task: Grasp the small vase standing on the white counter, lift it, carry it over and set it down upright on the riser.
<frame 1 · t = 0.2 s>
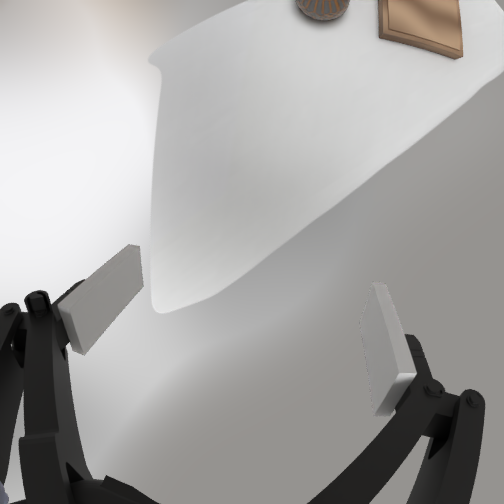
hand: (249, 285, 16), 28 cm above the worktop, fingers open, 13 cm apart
vase: (321, 5, 29), on the worktop
riser: (417, 13, 26), on the worktop
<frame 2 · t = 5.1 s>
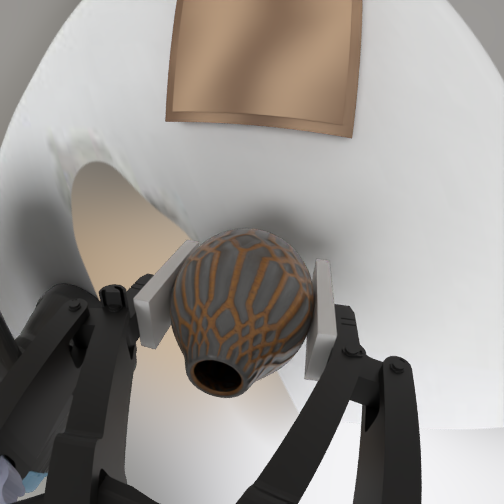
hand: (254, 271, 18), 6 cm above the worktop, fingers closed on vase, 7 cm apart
vase: (255, 267, 18), point 5 cm above the worktop, touching gripper
riser: (268, 44, 17), on the worktop
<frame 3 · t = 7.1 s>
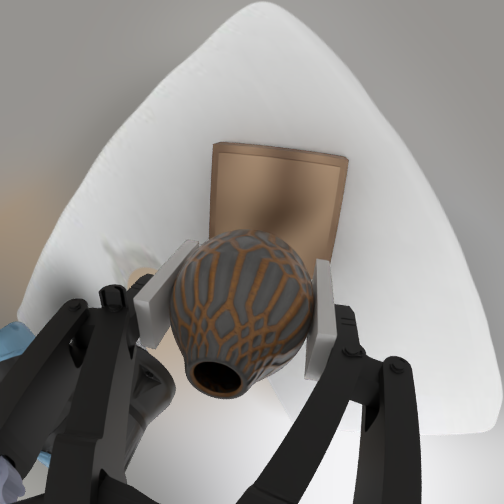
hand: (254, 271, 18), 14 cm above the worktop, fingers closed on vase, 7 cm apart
vase: (255, 267, 18), point 13 cm above the worktop, touching gripper
riser: (275, 207, 30), on the worktop
when the fingers open (3 cm above the worktop, at t = 9.5 s): vase stays where it is, resting on riser.
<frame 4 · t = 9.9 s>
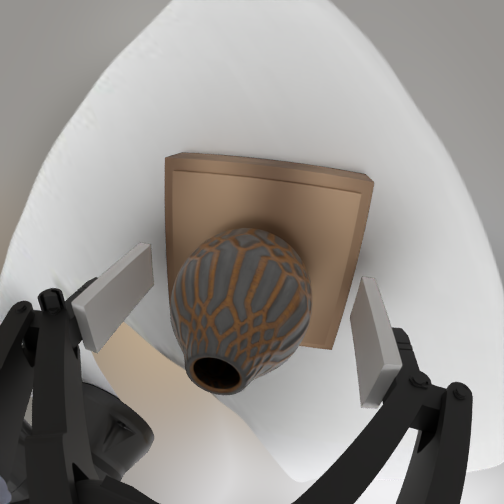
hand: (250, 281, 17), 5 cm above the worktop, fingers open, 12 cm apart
vase: (255, 266, 18), point 3 cm above the worktop, touching riser
riser: (262, 247, 21), on the worktop
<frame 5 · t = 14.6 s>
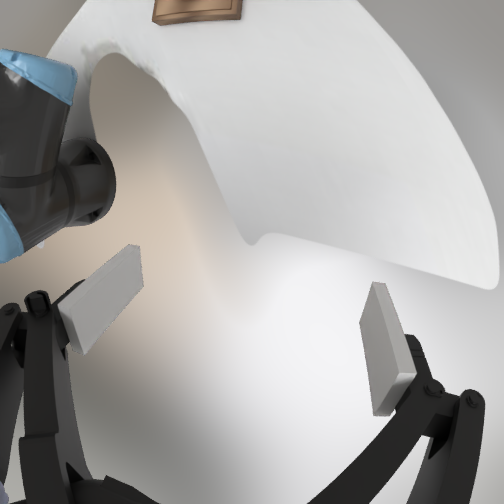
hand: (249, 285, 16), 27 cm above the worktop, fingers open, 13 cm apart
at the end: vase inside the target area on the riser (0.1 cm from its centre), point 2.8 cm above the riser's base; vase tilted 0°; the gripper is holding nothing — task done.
